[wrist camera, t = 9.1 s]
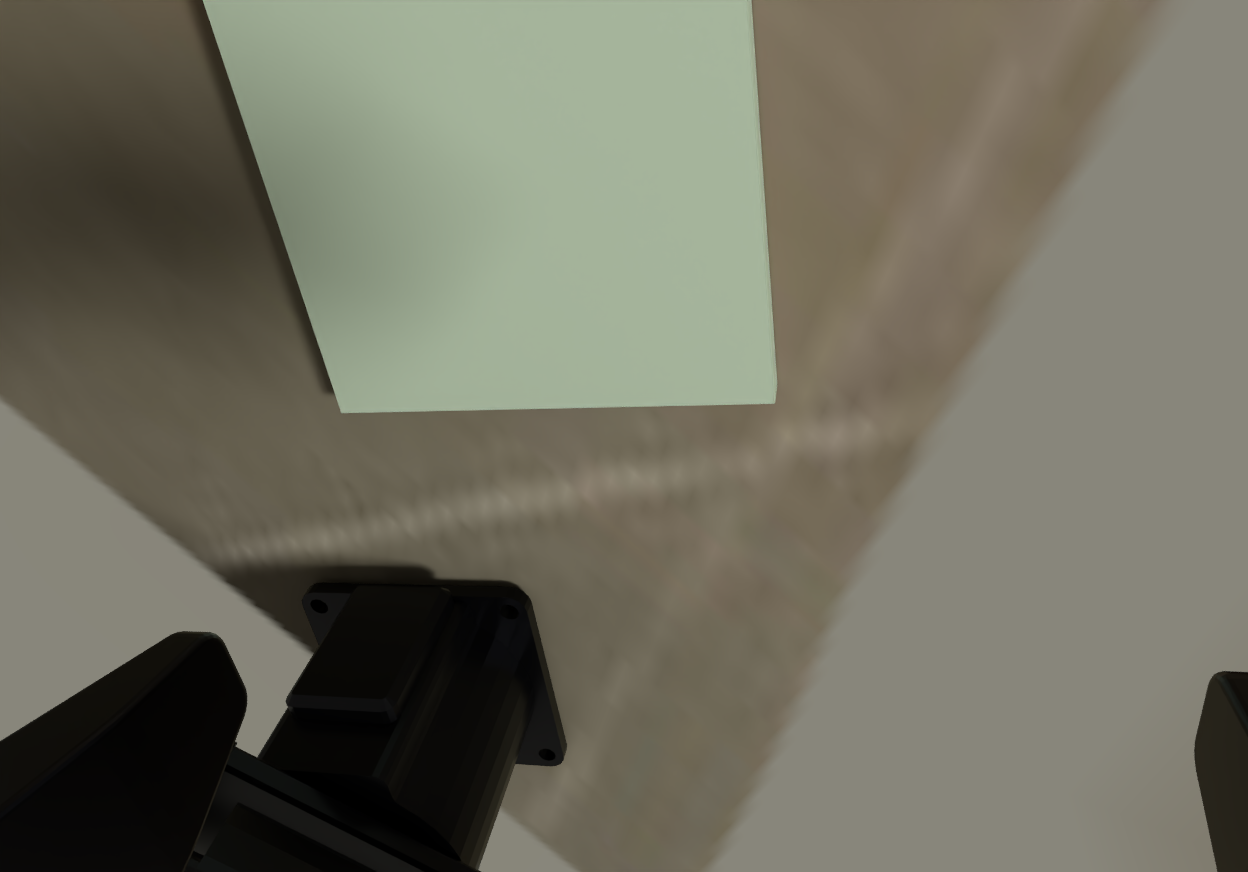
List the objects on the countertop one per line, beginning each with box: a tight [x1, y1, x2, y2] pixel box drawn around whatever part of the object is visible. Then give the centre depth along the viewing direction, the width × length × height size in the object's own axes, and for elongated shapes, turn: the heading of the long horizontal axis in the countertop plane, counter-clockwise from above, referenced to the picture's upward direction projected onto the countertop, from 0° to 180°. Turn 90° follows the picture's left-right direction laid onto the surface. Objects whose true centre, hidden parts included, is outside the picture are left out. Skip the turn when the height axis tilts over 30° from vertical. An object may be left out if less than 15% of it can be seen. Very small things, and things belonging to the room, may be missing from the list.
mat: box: [203, 0, 777, 413], centre depth 20 cm, size 10×10×1 cm
